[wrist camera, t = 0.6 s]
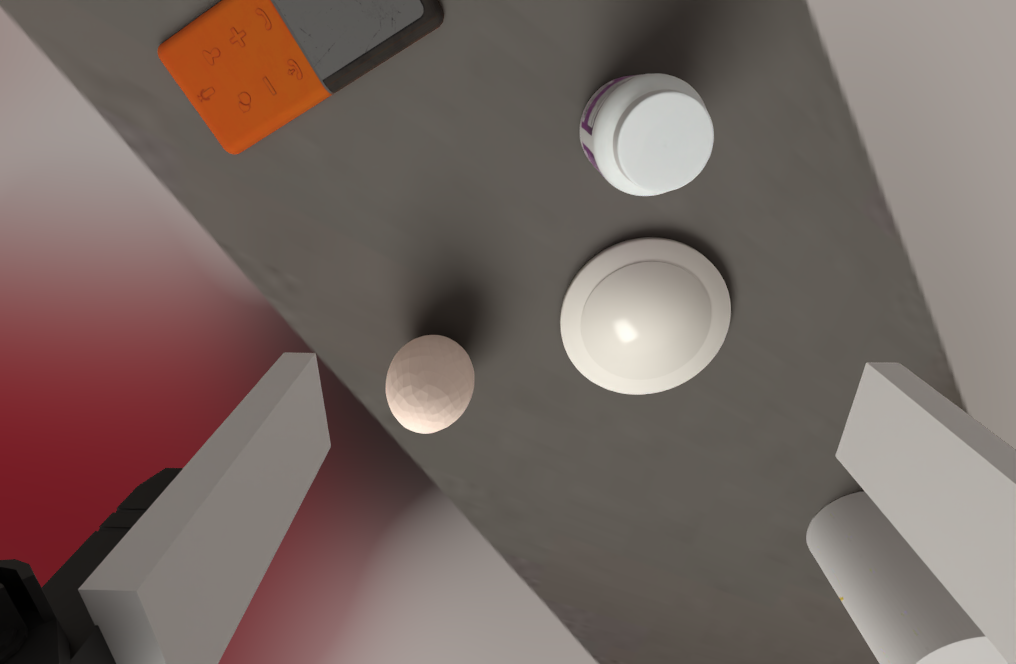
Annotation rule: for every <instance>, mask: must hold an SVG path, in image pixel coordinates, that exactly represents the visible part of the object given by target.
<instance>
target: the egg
mask: <svg viewBox="0 0 1016 664" xmlns="http://www.w3.org/2000/svg"><path fill="white" fill-rule="evenodd" d="M473 389H474V369H473V366H472V362H471V360H470V358H469V356H468V354H467V353H466V351H465V350H464V349H463V348H462V347H461V346H460V345H459V344H458V343H457V342H455V341H453V340H452V339H450V338H448V337H445V336H440V335H424V336H421V337H418V338H415V339H413V340H411V341H410V342H408V343H407V344H406V345H404V346H403V347H402V348H401V349H400V350H399V351H398V352H397V354H396V355H395V357H394V358H393V360H392V362H391V364H390V367H389V369H388V373H387V378H386V396H387V400H388V404H389V406H390V409H391V411H392V413H393V415H394V416H395V417H396V419H397V420H398V421H399V423H400V424H402V425H403V426H404V427H405V428H407V429H409V430H411V431H414V432H418V433H424V434H427V433H434V432H437V431H439V430H442V429H444V428H446V427H448V426H449V425H451V424H452V423H453V422H455V421H456V420H457V419H458V418H459V417H460V416H461V415H462V414H463V412H464V411H465V409H466V408H467V406H468V403H469V401H470V399H471V397H472V393H473Z"/></svg>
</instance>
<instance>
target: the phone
mask: <svg viewBox="0 0 1016 664" xmlns="http://www.w3.org/2000/svg"><path fill="white" fill-rule="evenodd" d="M442 22H443V11H442V9H441V7H440V5H439V3H438V1H437V0H222V1H220V2H219V3H217V4H216V5H215V6H213V7H212V8H210V9H209V10H208V11H206V12H205V13H204V14H202V15H201V16H199V17H198V18H197V19H195V20H194V21H192V22H191V23H190V24H188V25H187V26H186V27H184V28H183V29H181V30H180V31H179V32H177V33H176V34H174V35H173V36H172V37H170V38H169V39H168V40H166V41H165V42H163V43H162V44H161V45H160V46H159V48H158V56H159V58H160V60H161V61H162V63H163V64H164V65H165V67H166V68H167V70H168V71H169V72H170V74H171V75H172V77H173V78H174V79H175V81H176V82H177V84H178V85H179V86H180V88H181V89H182V91H183V92H184V93H185V95H186V96H187V98H188V99H189V100H190V102H191V103H192V105H193V106H194V107H195V109H196V110H197V112H198V113H199V114H200V116H201V117H202V119H203V120H204V121H205V123H206V124H207V126H208V127H209V128H210V130H211V131H212V133H213V134H214V135H215V137H216V138H217V140H218V141H219V142H220V144H221V145H222V147H223V148H224V149H225V150H226V151H227V152H229V153H231V154H239V153H241V152H242V151H244V150H246V149H247V148H249V147H250V146H252V145H253V144H255V143H257V142H258V141H260V140H261V139H263V138H264V137H266V136H268V135H269V134H271V133H272V132H274V131H276V130H277V129H279V128H280V127H282V126H283V125H285V124H287V123H288V122H290V121H291V120H293V119H294V118H296V117H298V116H299V115H301V114H302V113H304V112H306V111H307V110H309V109H310V108H312V107H313V106H315V105H317V104H318V103H320V102H321V101H323V100H324V99H326V98H328V97H329V96H331V95H332V94H334V93H336V92H337V91H339V90H340V89H342V88H343V87H345V86H347V85H348V84H350V83H351V82H353V81H354V80H356V79H358V78H359V77H361V76H362V75H364V74H366V73H367V72H369V71H370V70H372V69H373V68H375V67H377V66H378V65H380V64H381V63H383V62H384V61H386V60H388V59H389V58H391V57H392V56H394V55H395V54H397V53H399V52H400V51H402V50H403V49H405V48H407V47H408V46H410V45H411V44H413V43H414V42H416V41H418V40H419V39H421V38H422V37H424V36H425V35H427V34H429V33H430V32H432V31H433V30H435V29H437V28H438V27H439V26H440V25H441V24H442Z"/></svg>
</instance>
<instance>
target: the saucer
mask: <svg viewBox="0 0 1016 664" xmlns="http://www.w3.org/2000/svg"><path fill="white" fill-rule="evenodd" d="M730 316H731V303H730V297H729V292H728V289H727V286H726V284H725V281H724V280H723V278H722V276H721V274H720V273H719V271H718V270H717V269H716V268H715V266H714V265H713V264H712V263H711V262H710V261H709V260H708V259H707V258H706V257H705V256H703V255H702V254H701V253H700V252H698V251H697V250H695V249H694V248H692V247H690V246H688V245H686V244H684V243H681V242H678V241H675V240H672V239H666V238H659V237H644V238H636V239H631V240H626V241H623V242H620V243H617V244H615V245H613V246H611V247H609V248H606V249H605V250H603V251H601V252H600V253H598V254H597V255H595V256H594V257H593V258H591V259H590V260H589V261H588V262H587V263H586V264H585V265H584V266H583V267H582V268H581V269H580V270H579V271H578V272H577V274H576V275H575V277H574V278H573V279H572V281H571V283H570V285H569V286H568V288H567V290H566V293H565V296H564V298H563V302H562V306H561V313H560V329H561V335H562V340H563V344H564V347H565V350H566V352H567V354H568V356H569V358H570V360H571V361H572V363H573V364H574V365H575V367H576V368H577V369H578V370H579V371H580V372H581V373H582V374H583V375H584V376H585V377H587V378H588V379H589V380H590V381H592V382H594V383H595V384H597V385H599V386H601V387H603V388H606V389H608V390H612V391H615V392H619V393H625V394H650V393H656V392H661V391H664V390H668V389H671V388H673V387H675V386H678V385H680V384H682V383H684V382H686V381H688V380H689V379H691V378H692V377H694V376H695V375H696V374H698V373H699V372H700V371H701V370H702V369H704V368H705V367H706V366H707V365H708V364H709V362H710V361H711V360H712V359H713V358H714V356H715V355H716V354H717V352H718V351H719V349H720V347H721V345H722V344H723V342H724V339H725V337H726V334H727V332H728V328H729V324H730Z"/></svg>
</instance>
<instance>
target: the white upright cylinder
mask: <svg viewBox="0 0 1016 664" xmlns="http://www.w3.org/2000/svg"><path fill="white" fill-rule="evenodd" d="M806 539H807V545H808V547H809V549H810V551H811V553H812V554H813V556H814V557H815V559H816V561H817V562H818V564H819V566H820V567H821V569H822V570H823V572H824V574H825V575H826V577H827V579H828V580H829V582H830V584H831V585H832V587H833V588H834V590H835V592H836V593H837V595H838V597H839V598H840V600H841V601H842V603H843V605H844V606H845V608H846V610H847V611H848V613H849V614H850V616H851V618H852V619H853V621H854V623H855V624H856V626H857V627H858V629H859V631H860V632H861V634H862V636H863V637H864V639H865V641H866V642H867V644H868V645H869V647H870V649H871V650H872V652H873V654H874V655H875V657H876V658H877V660H878V662H879V663H880V664H1009V663H1008V662H1007V661H1006V660H1005V658H1004V657H1003V656H1002V655H1001V654H1000V653H999V651H998V650H997V649H996V648H995V647H994V645H993V644H992V643H991V642H990V641H989V639H988V638H987V637H986V636H985V635H984V633H983V632H982V631H981V630H980V629H979V627H978V626H977V625H976V624H975V623H974V621H973V620H972V619H971V618H970V617H969V615H968V614H967V613H966V612H965V611H964V609H963V608H962V607H961V606H960V605H959V603H958V602H957V601H956V600H955V599H954V597H953V596H952V595H951V594H950V593H949V592H948V590H947V589H946V588H945V587H944V586H943V584H942V583H941V582H940V581H939V580H938V578H937V577H936V576H935V575H934V574H933V572H932V571H931V570H930V569H929V568H928V566H927V565H926V564H925V563H924V562H923V560H922V559H921V558H920V557H919V556H918V554H917V553H916V552H915V551H914V550H913V548H912V547H911V546H910V545H909V544H908V542H907V541H906V540H905V539H904V538H903V536H902V535H901V534H900V533H899V532H898V530H897V529H896V528H895V527H894V526H893V525H892V523H891V522H890V521H889V520H888V519H887V517H886V516H885V515H884V514H883V513H882V511H881V510H880V509H879V508H878V507H877V505H876V504H875V503H874V502H873V501H872V499H871V498H870V497H869V496H868V495H867V493H866V492H865V491H863V492H857V493H853V494H849V495H846V496H843V497H841V498H839V499H837V500H835V501H833V502H831V503H830V504H828V505H827V506H825V507H824V508H823V509H822V510H821V511H819V512H818V513H817V515H816V516H815V517H814V518H813V520H812V521H811V523H810V525H809V527H808V530H807V537H806Z"/></svg>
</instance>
